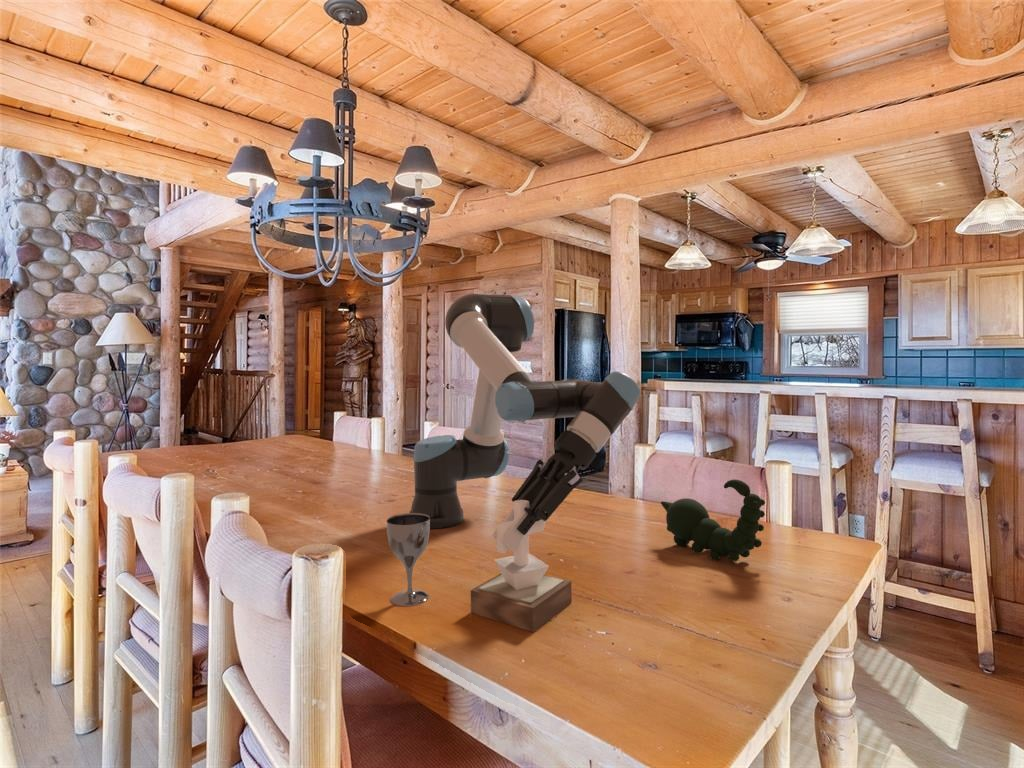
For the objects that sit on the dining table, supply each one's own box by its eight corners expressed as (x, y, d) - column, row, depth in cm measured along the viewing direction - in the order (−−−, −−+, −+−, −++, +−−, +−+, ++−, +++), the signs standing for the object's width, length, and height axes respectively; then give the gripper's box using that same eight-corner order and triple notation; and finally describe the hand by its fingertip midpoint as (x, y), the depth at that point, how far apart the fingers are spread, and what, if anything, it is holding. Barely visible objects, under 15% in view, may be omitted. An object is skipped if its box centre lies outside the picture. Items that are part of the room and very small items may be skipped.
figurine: (488, 580, 99) (488, 499, 98) (533, 570, 103) (533, 492, 102) (507, 596, 92) (507, 509, 91) (554, 585, 97) (554, 502, 96)
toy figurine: (767, 570, 117) (671, 531, 138) (775, 483, 115) (676, 456, 136) (741, 581, 112) (645, 538, 132) (749, 490, 110) (650, 461, 130)
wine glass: (412, 585, 108) (410, 510, 107) (440, 596, 103) (438, 517, 102) (379, 599, 102) (377, 520, 101) (407, 611, 97) (405, 527, 96)
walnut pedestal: (471, 612, 96) (470, 588, 96) (512, 586, 106) (512, 565, 106) (533, 632, 88) (533, 606, 88) (571, 602, 99) (571, 579, 99)
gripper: (618, 461, 96) (536, 570, 89) (570, 449, 110) (497, 542, 104) (593, 433, 93) (506, 543, 87) (547, 424, 108) (470, 519, 101)
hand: (501, 543), depth 95 cm, fingers open, 3 cm apart
